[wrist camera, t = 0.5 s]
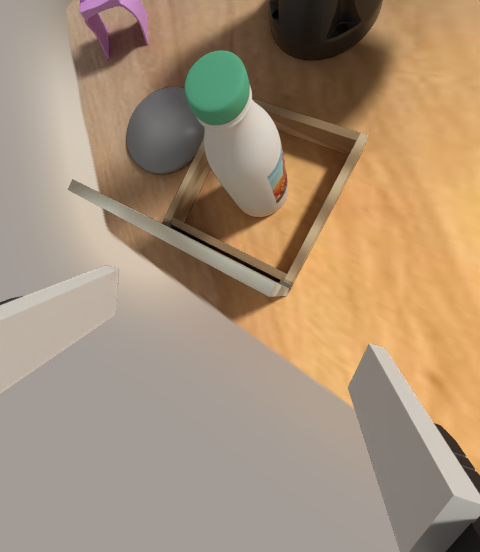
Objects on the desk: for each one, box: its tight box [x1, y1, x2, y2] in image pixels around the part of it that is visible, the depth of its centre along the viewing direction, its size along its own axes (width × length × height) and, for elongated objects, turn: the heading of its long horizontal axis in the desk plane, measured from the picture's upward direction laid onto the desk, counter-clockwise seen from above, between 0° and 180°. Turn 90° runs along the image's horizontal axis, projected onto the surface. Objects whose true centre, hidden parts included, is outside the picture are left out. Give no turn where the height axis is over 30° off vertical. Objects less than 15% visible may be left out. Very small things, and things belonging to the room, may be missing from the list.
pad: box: [126, 87, 205, 174], centre depth 41 cm, size 14×14×1 cm
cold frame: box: [68, 98, 369, 297], centre depth 28 cm, size 22×20×18 cm
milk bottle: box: [184, 50, 288, 217], centre depth 27 cm, size 8×8×20 cm
